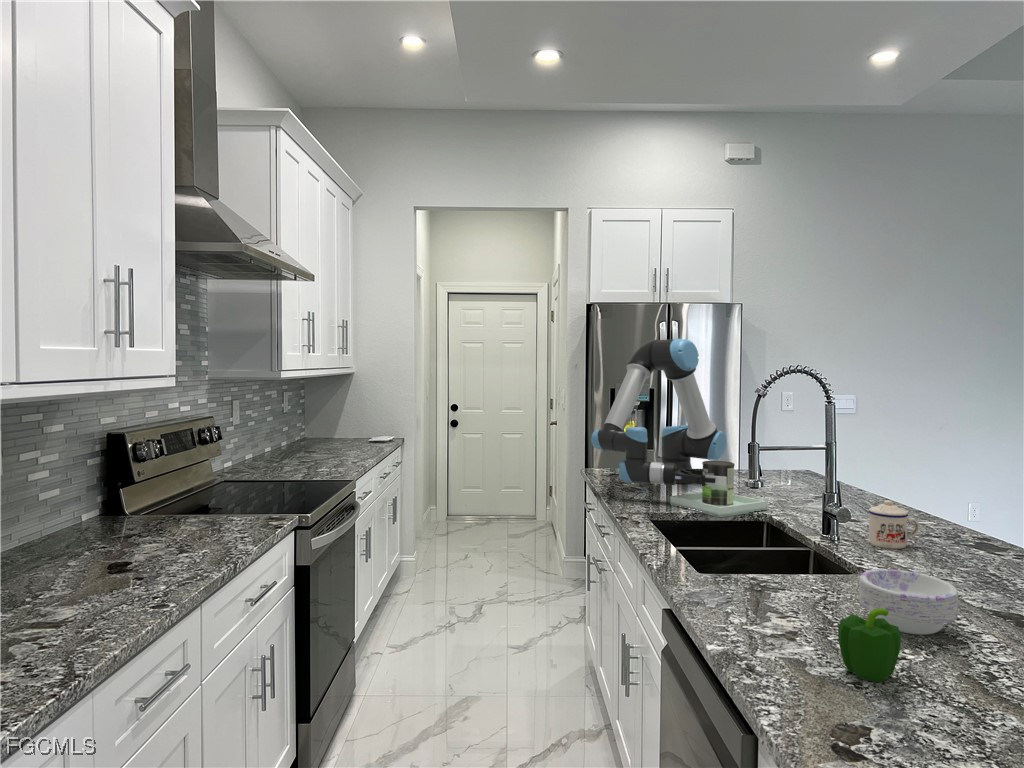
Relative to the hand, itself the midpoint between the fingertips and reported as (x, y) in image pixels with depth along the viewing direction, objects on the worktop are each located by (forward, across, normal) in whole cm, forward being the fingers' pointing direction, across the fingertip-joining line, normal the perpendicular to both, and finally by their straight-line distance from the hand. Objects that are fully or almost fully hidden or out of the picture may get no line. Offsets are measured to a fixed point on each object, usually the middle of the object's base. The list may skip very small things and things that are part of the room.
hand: (728, 477), depth 216 cm
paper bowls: (+39, +91, -10) cm, 100 cm away
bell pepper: (+31, +116, -10) cm, 121 cm away
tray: (-3, 0, -10) cm, 11 cm away
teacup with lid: (+44, +30, -10) cm, 54 cm away
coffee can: (-3, 0, -9) cm, 10 cm away
